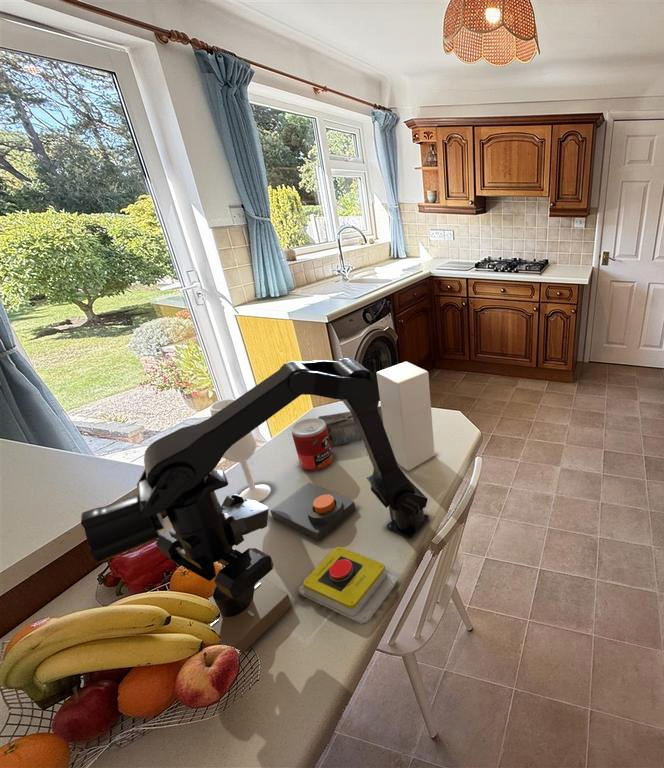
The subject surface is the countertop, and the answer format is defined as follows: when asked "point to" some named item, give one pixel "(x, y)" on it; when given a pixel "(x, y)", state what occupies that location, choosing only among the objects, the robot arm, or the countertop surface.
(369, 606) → the emergency button
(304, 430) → the canned food
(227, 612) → the knob
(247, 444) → the champagne flute
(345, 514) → the emergency button base
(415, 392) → the tall white carton
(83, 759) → the countertop surface
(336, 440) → the beverage carton
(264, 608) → the dial console
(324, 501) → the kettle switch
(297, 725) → the countertop surface
